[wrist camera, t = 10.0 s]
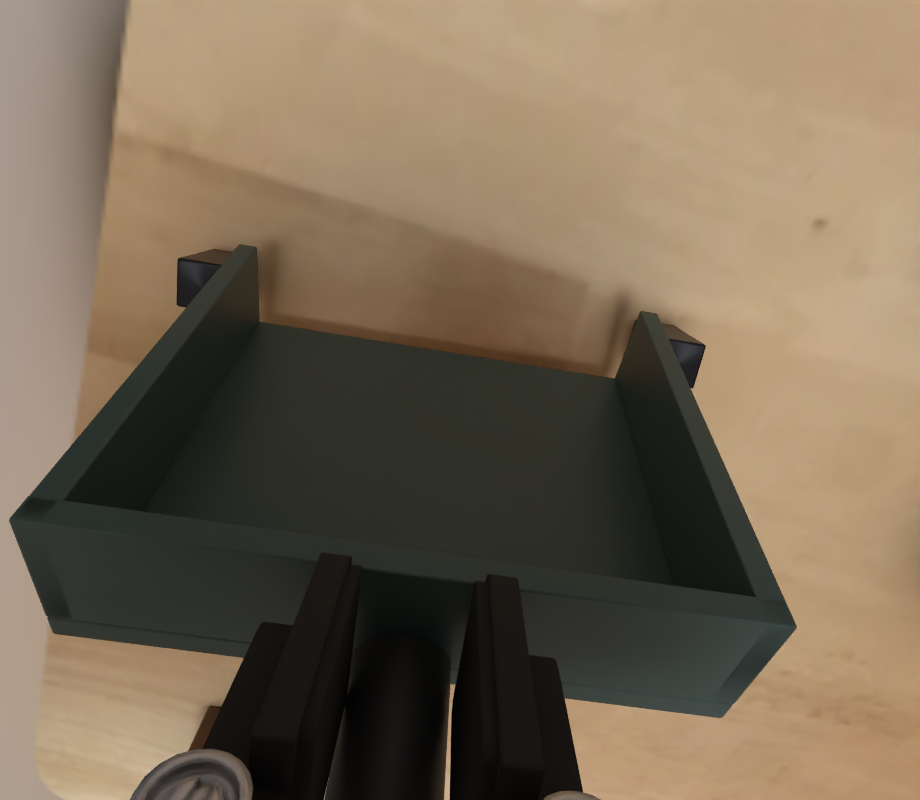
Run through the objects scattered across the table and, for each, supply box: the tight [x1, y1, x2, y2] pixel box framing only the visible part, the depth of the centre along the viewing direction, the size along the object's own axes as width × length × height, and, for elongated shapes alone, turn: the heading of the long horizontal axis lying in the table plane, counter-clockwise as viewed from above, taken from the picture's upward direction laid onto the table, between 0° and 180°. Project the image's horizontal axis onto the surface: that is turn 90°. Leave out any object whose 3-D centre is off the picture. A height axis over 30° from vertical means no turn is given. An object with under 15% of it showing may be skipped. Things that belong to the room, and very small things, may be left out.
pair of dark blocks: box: [177, 249, 705, 388], centre depth 22 cm, size 2×18×3 cm, turn 81°
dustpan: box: [9, 244, 796, 800], centre depth 15 cm, size 17×14×4 cm
